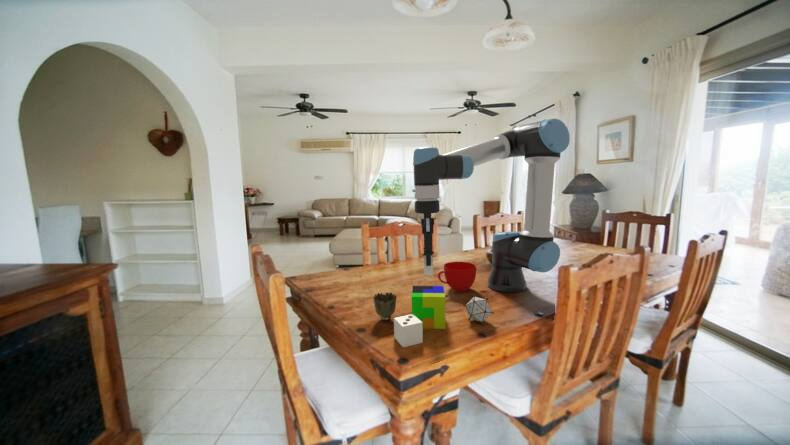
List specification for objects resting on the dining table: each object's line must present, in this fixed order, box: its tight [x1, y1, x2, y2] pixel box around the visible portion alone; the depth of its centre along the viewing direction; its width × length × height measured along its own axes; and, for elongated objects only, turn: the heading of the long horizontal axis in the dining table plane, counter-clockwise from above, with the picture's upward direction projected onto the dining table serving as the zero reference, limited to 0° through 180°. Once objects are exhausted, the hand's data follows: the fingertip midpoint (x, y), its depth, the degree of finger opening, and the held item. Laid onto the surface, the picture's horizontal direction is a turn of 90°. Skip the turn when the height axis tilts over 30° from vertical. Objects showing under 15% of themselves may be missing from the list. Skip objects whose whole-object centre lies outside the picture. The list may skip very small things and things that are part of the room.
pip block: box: [393, 313, 424, 348], centre depth 86 cm, size 6×6×6 cm
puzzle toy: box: [411, 285, 446, 330], centre depth 98 cm, size 10×10×10 cm
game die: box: [462, 293, 495, 326], centre depth 97 cm, size 9×8×10 cm
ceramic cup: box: [437, 261, 477, 293], centre depth 125 cm, size 13×17×10 cm
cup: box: [373, 292, 397, 322], centre depth 99 cm, size 8×7×8 cm
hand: (428, 274), depth 96 cm, fingers closed
